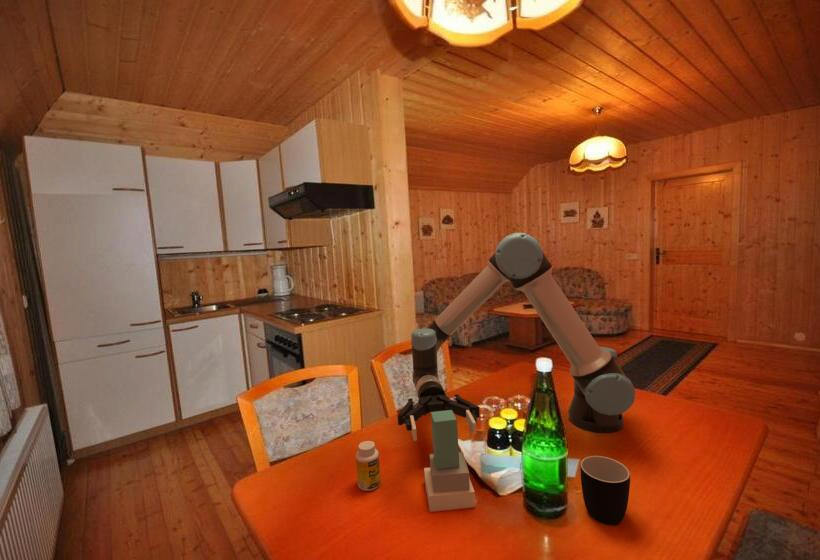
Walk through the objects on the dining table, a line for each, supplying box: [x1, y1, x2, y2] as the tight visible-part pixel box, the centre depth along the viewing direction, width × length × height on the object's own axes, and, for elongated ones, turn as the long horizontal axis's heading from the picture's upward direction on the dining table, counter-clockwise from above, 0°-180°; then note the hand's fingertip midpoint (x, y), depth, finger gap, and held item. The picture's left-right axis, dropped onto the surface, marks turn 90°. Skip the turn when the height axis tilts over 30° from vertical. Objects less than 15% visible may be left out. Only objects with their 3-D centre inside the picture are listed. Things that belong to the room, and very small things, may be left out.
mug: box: [579, 455, 631, 526], centre depth 77 cm, size 12×9×10 cm
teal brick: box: [430, 410, 460, 470], centre depth 84 cm, size 5×5×11 cm
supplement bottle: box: [355, 440, 381, 492], centre depth 89 cm, size 6×6×10 cm
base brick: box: [423, 467, 476, 513], centre depth 85 cm, size 10×10×4 cm
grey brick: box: [429, 451, 470, 493], centre depth 84 cm, size 8×8×4 cm
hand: (445, 431), depth 83 cm, fingers open, 13 cm apart
